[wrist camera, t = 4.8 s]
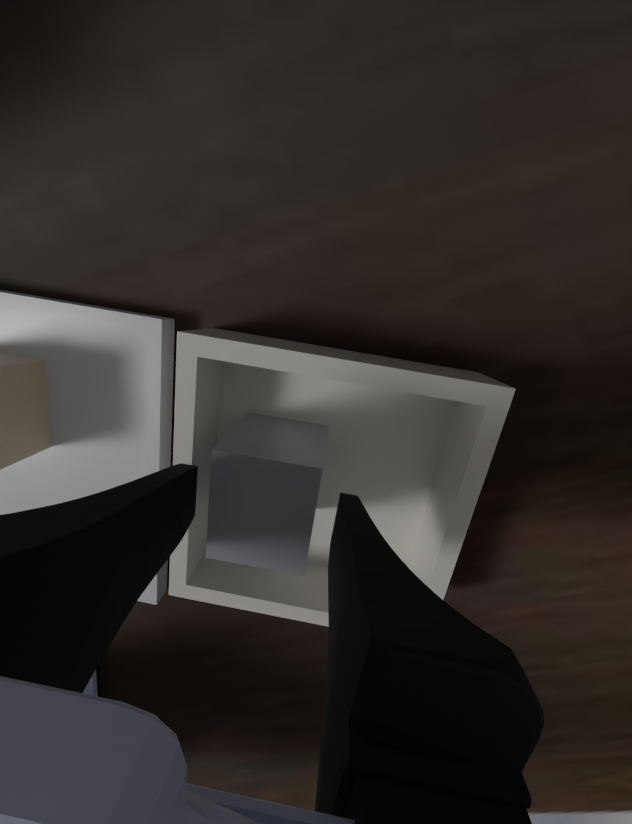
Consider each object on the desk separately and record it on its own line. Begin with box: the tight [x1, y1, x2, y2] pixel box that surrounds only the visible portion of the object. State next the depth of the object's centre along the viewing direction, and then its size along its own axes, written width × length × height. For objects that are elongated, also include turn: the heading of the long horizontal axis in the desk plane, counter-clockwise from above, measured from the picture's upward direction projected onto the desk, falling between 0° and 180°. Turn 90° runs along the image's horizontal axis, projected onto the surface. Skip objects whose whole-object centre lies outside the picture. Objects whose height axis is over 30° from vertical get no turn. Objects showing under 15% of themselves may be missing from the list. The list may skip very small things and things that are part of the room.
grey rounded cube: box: [205, 412, 329, 576], centre depth 12 cm, size 4×3×4 cm
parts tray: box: [0, 290, 175, 605], centre depth 15 cm, size 14×10×1 cm
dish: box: [169, 328, 516, 627], centre depth 13 cm, size 11×11×3 cm
